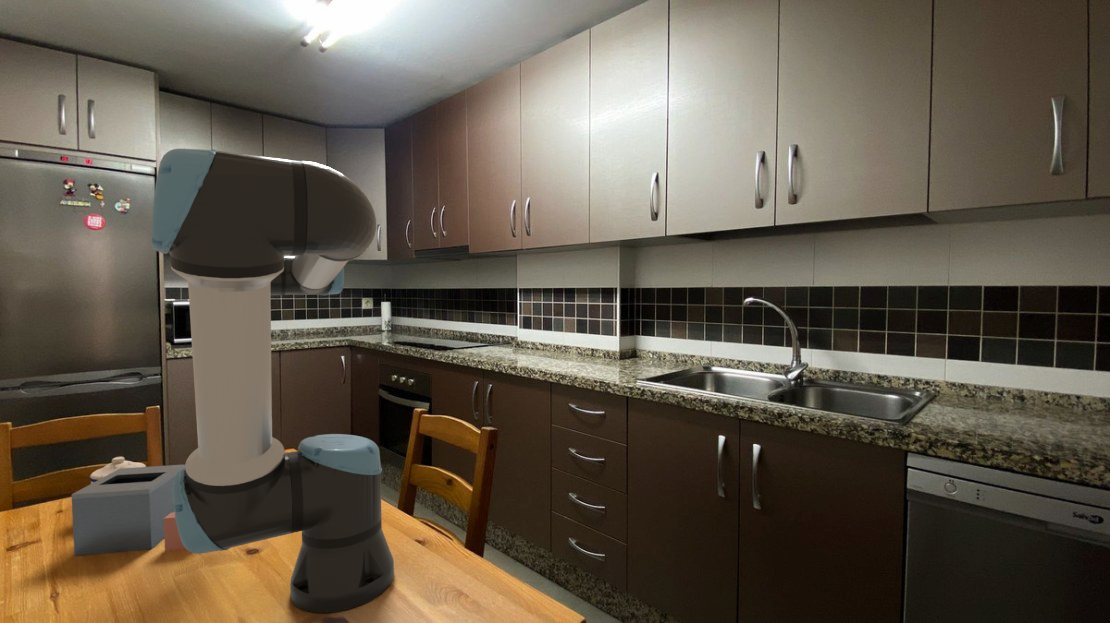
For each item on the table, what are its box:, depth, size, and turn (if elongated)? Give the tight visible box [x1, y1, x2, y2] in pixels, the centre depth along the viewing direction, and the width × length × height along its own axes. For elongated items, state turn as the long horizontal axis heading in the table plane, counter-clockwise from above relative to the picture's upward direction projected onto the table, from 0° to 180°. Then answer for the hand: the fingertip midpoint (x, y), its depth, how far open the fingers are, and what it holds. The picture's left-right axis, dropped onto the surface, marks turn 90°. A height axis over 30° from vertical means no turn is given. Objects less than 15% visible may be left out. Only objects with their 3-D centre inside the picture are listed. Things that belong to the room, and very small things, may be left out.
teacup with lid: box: [88, 456, 147, 484], centre depth 107 cm, size 12×9×12 cm
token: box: [164, 512, 187, 552], centre depth 92 cm, size 2×6×6 cm, turn 101°
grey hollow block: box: [71, 463, 186, 557], centre depth 96 cm, size 13×12×11 cm
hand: (239, 430), depth 102 cm, fingers open, 13 cm apart
